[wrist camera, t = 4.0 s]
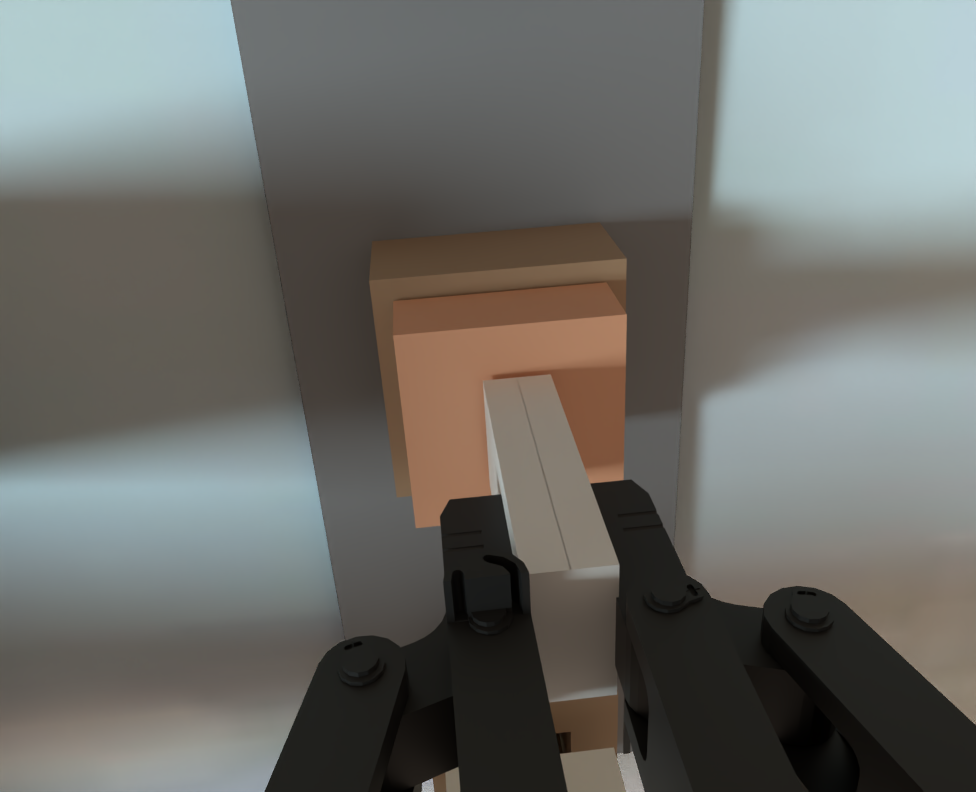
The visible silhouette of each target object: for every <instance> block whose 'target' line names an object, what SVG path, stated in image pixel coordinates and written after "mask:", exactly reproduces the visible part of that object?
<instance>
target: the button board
mask: <svg viewBox="0 0 976 792" xmlns="http://www.w3.org/2000/svg"><path fill="white" fill-rule="evenodd" d="M231 6H232V11H233V17H234V22H235V28H236V33H237V39H238V45H239V50H240V56H241V61H242V67H243V73H244V78H245V84H246V89H247V95H248V100H249V106H250V112H251V117H252V123H253V128H254V134H255V140H256V145H257V151H258V156H259V162H260V168H261V173H262V179H263V184H264V190H265V195H266V201H267V207H268V212H269V218H270V223H271V229H272V235H273V240H274V246H275V251H276V257H277V262H278V268H279V274H280V279H281V285H282V290H283V296H284V302H285V307H286V313H287V318H288V324H289V329H290V335H291V341H292V346H293V352H294V357H295V363H296V369H297V374H298V380H299V385H300V391H301V396H302V402H303V408H304V413H305V419H306V424H307V430H308V436H309V441H310V447H311V452H312V458H313V463H314V469H315V475H316V480H317V486H318V491H319V497H320V503H321V508H322V514H323V519H324V525H325V530H326V536H327V542H328V547H329V553H330V558H331V564H332V570H333V575H334V581H335V586H336V592H337V598H338V603H339V609H340V614H341V620H342V625H343V631H344V637H345V641H346V640H348V639H351V638H354V637H357V636H370V635H374V636H379V637H383V638H388V639H390V640H391V641H393V642H394V643H396V644H397V645H399V646H400V647H403V646H406V645H408V644H411V643H414V642H416V641H418V640H420V639H422V638H424V637H426V636H427V635H428V634H430V633H431V632H432V631H434V630H435V629H436V628H437V626H438V625H439V624H440V623H441V622H442V620H443V617H444V615H445V613H446V607H445V597H444V588H443V579H444V565H443V551H442V538H441V526H432V527H423V528H416V526H415V517H414V509H413V500H412V492H411V483H410V475H409V466H408V458H407V450H406V441H405V433H404V424H403V416H402V407H401V399H400V390H399V382H398V373H397V365H396V357H395V348H394V340H393V301H400V300H411V299H423V298H434V297H445V296H457V295H468V294H480V293H491V292H502V291H514V290H525V289H536V288H548V287H559V286H570V285H582V284H593V283H604V282H607V284H608V285H609V287H610V289H611V290H612V292H613V293H614V295H615V296H616V298H617V300H618V301H619V303H620V304H621V306H622V307H623V309H624V311H625V312H626V314H627V333H626V382H625V432H624V480H630V479H631V480H633V481H634V482H635V483H636V484H638V485H639V486H640V487H641V488H643V489H644V490H645V491H646V492H648V493H649V495H650V497H651V499H652V502H653V504H654V506H655V508H656V510H657V514H658V515H659V517H660V519H661V521H662V523H663V528H665V530H666V532H667V534H668V536H669V538H670V540H671V543H672V545H673V547H674V537H675V518H676V500H677V482H678V464H679V446H680V428H681V410H682V392H683V374H684V356H685V338H686V320H687V302H688V284H689V266H690V248H691V230H692V212H693V193H694V175H695V157H696V139H697V121H698V103H699V85H700V67H701V49H702V31H703V13H704V0H231ZM549 703H550V708H551V713H552V718H553V723H554V728H555V732H556V737H557V742H558V747H559V752H560V754H563V753H571V752H580V751H588V750H596V749H605V748H613V747H614V750H615V754H616V757H617V753H623V717H624V693H623V690H622V686H621V683H620V680H619V676H618V673H617V695H609V696H601V697H592V698H583V699H575V700H566V701H557V702H549ZM632 751H633V749H632V746H631V742H630V752H632ZM433 783H434V791H435V792H446V776H445V773H443V774H441V775H439V776H436V777H434V778H433Z"/></svg>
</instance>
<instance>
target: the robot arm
mask: <svg viewBox="0 0 976 792" xmlns="http://www.w3.org/2000/svg"><path fill="white" fill-rule="evenodd" d="M483 391H484V406H485V421H486V436H487V451H488V466H489V481H490V489H491V495H489V496H479V497H469V498H459V499H449V501H448V503H447V505H446V507H445V508H444V510H443V512H442V514H441V515H440V525H441V538H442V551H443V565H444V579H443V588H444V597H445V607H446V613H445V615H444V617H443V620H442V622H441V623H440V624H439V625H438V626H437V628H436V629H435V630H434V631H432V632H431V633H430V634H428V635H427V636H426V637H424V638H422V639H420V640H418V641H416V642H414V643H411V644H408V645H406V646H403V647H400V646H399V645H397V644H396V643H394V642H393V641H391V640H390V639H388V638H383V637H379V636H374V635H370V636H357V637H354V638H351V639H348V640H346V641H343V642H340V643H339V644H337V645H336V646H335V647H333V648H332V649H331V650H329V651H328V652H327V653H326V654H325V656H324V657H323V659H322V660H321V662H320V663H319V665H318V667H317V669H316V672H315V674H314V676H313V679H312V681H311V683H310V686H309V688H308V690H307V693H306V695H305V698H304V700H303V702H302V705H301V707H300V709H299V712H298V714H297V716H296V719H295V721H294V724H293V726H292V728H291V731H290V733H289V735H288V738H287V740H286V742H285V745H284V747H283V749H282V752H281V754H280V757H279V759H278V761H277V764H276V766H275V768H274V771H273V773H272V775H271V778H270V780H269V783H268V785H267V787H266V790H265V792H421V791H422V783H423V782H425V781H427V780H430V779H432V778H434V777H436V776H439V775H441V774H443V773H446V772H448V771H450V770H452V769H455V768H457V767H459V780H460V792H568V791H567V786H566V781H565V776H564V771H563V766H562V762H561V757H560V752H559V747H558V742H557V737H556V732H555V728H554V723H553V718H552V713H551V708H550V703H549V702H557V701H566V700H575V699H583V698H592V697H601V696H609V695H617V673H618V676H619V680H620V683H621V686H622V690H623V693H624V717H623V754H626V753H630V742H631V746H632V749H633V753H634V756H635V759H636V763H637V766H638V770H639V773H640V777H641V780H642V784H643V787H644V790H645V792H976V725H975V724H974V723H973V722H972V721H971V720H969V719H968V718H967V717H966V716H965V715H964V714H963V713H962V712H961V711H960V710H959V709H958V708H957V707H955V706H954V705H953V704H952V703H951V702H950V701H949V700H948V699H947V698H946V697H945V696H944V695H943V694H942V693H940V692H939V691H938V690H937V689H936V688H935V687H934V686H933V685H932V684H931V683H930V682H929V681H928V680H926V679H925V678H924V677H923V676H922V675H921V674H920V673H919V672H918V671H917V670H916V669H915V668H914V667H913V666H911V665H910V664H909V663H908V662H907V661H906V660H905V659H904V658H903V657H902V656H901V655H900V654H899V653H897V652H896V651H895V650H894V649H893V648H892V647H891V646H890V645H889V644H888V643H887V642H886V641H885V640H884V639H882V638H881V637H880V636H879V635H878V634H877V633H876V632H875V631H874V630H873V629H872V628H871V627H870V626H868V625H867V624H866V623H865V622H864V621H863V620H862V619H861V618H860V617H859V616H858V615H857V614H856V613H855V612H853V611H852V610H851V609H850V608H849V607H848V606H847V605H846V604H845V603H843V602H842V601H840V600H839V599H838V598H836V597H835V596H833V595H832V594H829V593H827V592H824V591H821V590H818V589H816V588H809V587H801V586H795V587H788V588H782V589H780V590H778V591H776V592H774V593H772V594H770V596H769V597H768V598H767V600H766V601H765V603H764V608H757V607H749V606H741V605H734V604H729V603H725V602H721V601H719V600H716V599H713V598H711V597H710V595H709V593H708V592H707V591H706V589H705V588H704V587H703V585H702V584H701V583H699V582H697V581H696V580H694V579H692V578H691V577H689V576H687V575H686V573H685V571H684V569H683V566H682V564H681V562H680V560H679V558H678V556H677V553H676V551H675V549H674V547H673V545H672V543H671V540H670V538H669V536H668V534H667V532H666V530H665V528H663V523H662V521H661V519H660V517H659V515H658V514H657V510H656V508H655V506H654V504H653V502H652V499H651V497H650V495H649V493H648V492H646V491H645V490H644V489H643V488H641V487H640V486H639V485H638V484H636V483H635V482H634V481H633V480H631V479H630V480H620V481H610V482H600V483H590V482H589V479H588V476H587V473H586V471H585V468H584V465H583V462H582V460H581V457H580V454H579V451H578V448H577V446H576V443H575V440H574V437H573V435H572V432H571V429H570V426H569V424H568V421H567V418H566V415H565V413H564V410H563V407H562V404H561V402H560V399H559V396H558V393H557V390H556V388H555V385H554V382H553V379H552V377H551V374H548V375H537V376H526V377H516V378H505V379H494V380H484V381H483Z"/></svg>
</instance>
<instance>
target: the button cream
mask: <svg viewBox="0 0 976 792" xmlns="http://www.w3.org/2000/svg"><path fill="white" fill-rule="evenodd" d="M560 757H561V762H562V766H563V771H564V776H565V781H566V786H567V791H568V792H626V790H625V787H624V783H623V779H622V776H621V772H620V768H619V765H618V761H617V757H616V754H615V750H614V747H613V748H605V749H596V750H588V751H580V752H571V753H563V754H560ZM445 776H446V792H460V780H459V767H457V768H455V769H452V770H450V771H448V772H446V773H445Z"/></svg>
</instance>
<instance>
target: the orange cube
mask: <svg viewBox="0 0 976 792" xmlns="http://www.w3.org/2000/svg"><path fill="white" fill-rule="evenodd" d="M626 333H627V314H626V312H625V311H624V309H623V307H622V306H621V304H620V303H619V301H618V300H617V298H616V296H615V295H614V293H613V292H612V290H611V289H610V287H609V285H608V284H607V282H604V283H593V284H582V285H570V286H559V287H548V288H536V289H525V290H514V291H502V292H491V293H480V294H468V295H457V296H445V297H434V298H423V299H411V300H400V301H393V340H394V348H395V357H396V365H397V373H398V382H399V390H400V399H401V407H402V416H403V424H404V433H405V441H406V450H407V458H408V466H409V475H410V483H411V492H412V500H413V509H414V517H415V526H416V528H423V527H432V526H441V525H440V515H441V514H442V512H443V510H444V508H445V507H446V505H447V503H448V501H449V499H459V498H469V497H479V496H489V495H491V489H490V481H489V466H488V451H487V436H486V421H485V406H484V391H483V381H484V380H494V379H505V378H516V377H526V376H537V375H548V374H551V377H552V379H553V382H554V385H555V388H556V390H557V393H558V396H559V399H560V402H561V404H562V407H563V410H564V413H565V415H566V418H567V421H568V424H569V426H570V429H571V432H572V435H573V437H574V440H575V443H576V446H577V448H578V451H579V454H580V457H581V460H582V462H583V465H584V468H585V471H586V473H587V476H588V479H589V482H590V483H600V482H610V481H620V480H624V432H625V382H626Z"/></svg>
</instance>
